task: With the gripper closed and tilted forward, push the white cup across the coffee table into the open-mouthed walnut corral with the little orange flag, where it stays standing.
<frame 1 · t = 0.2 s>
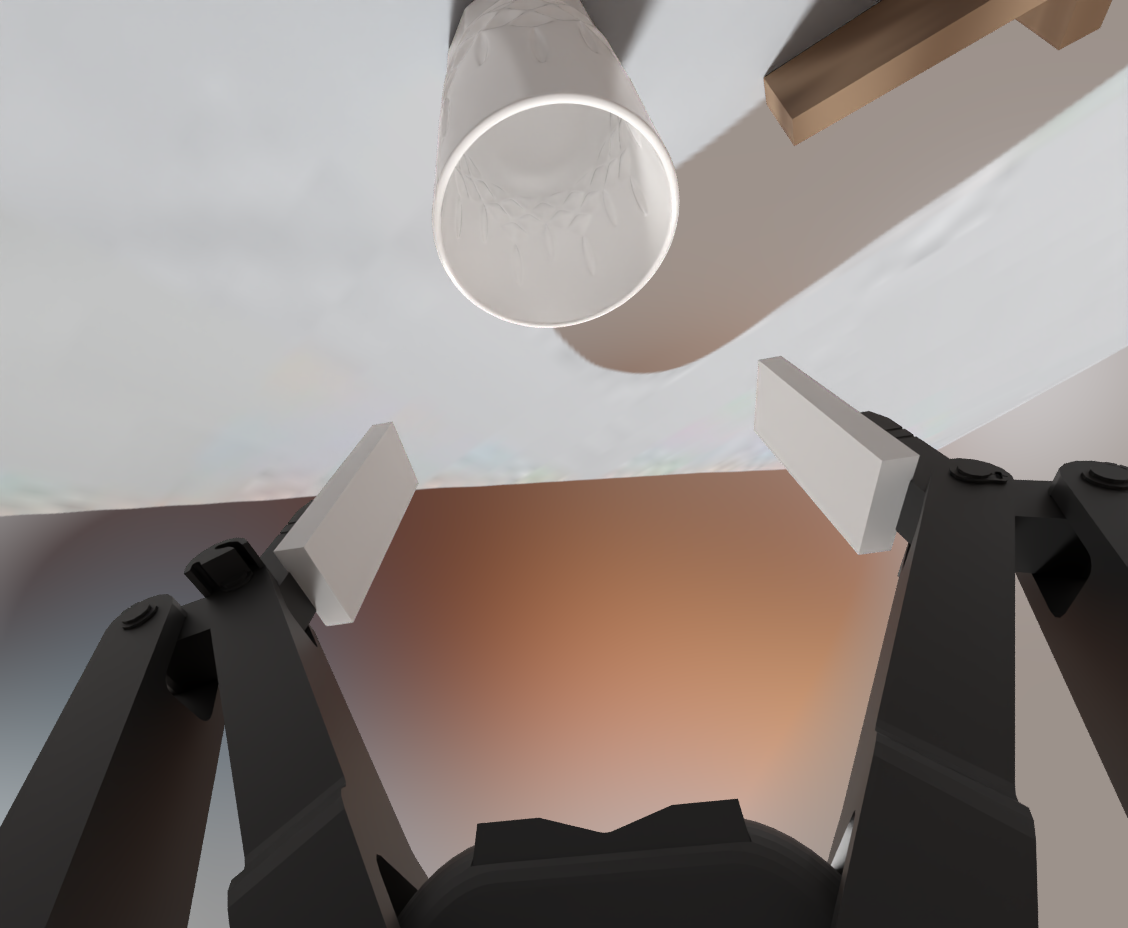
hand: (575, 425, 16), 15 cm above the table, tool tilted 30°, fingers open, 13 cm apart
white cup: (528, 84, 19), on the table
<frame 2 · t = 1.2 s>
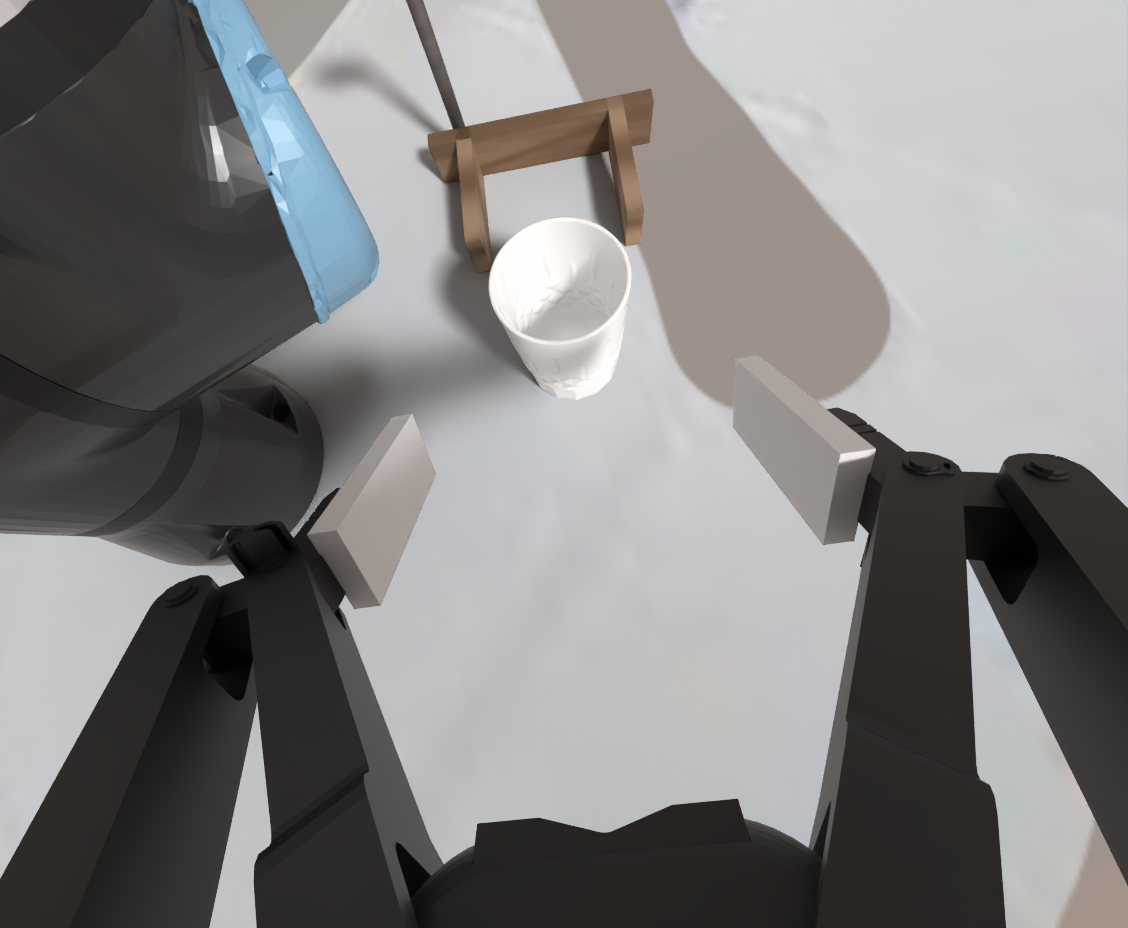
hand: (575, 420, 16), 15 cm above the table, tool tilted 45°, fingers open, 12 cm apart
corral: (552, 216, 36), on the table
white cup: (573, 360, 34), on the table
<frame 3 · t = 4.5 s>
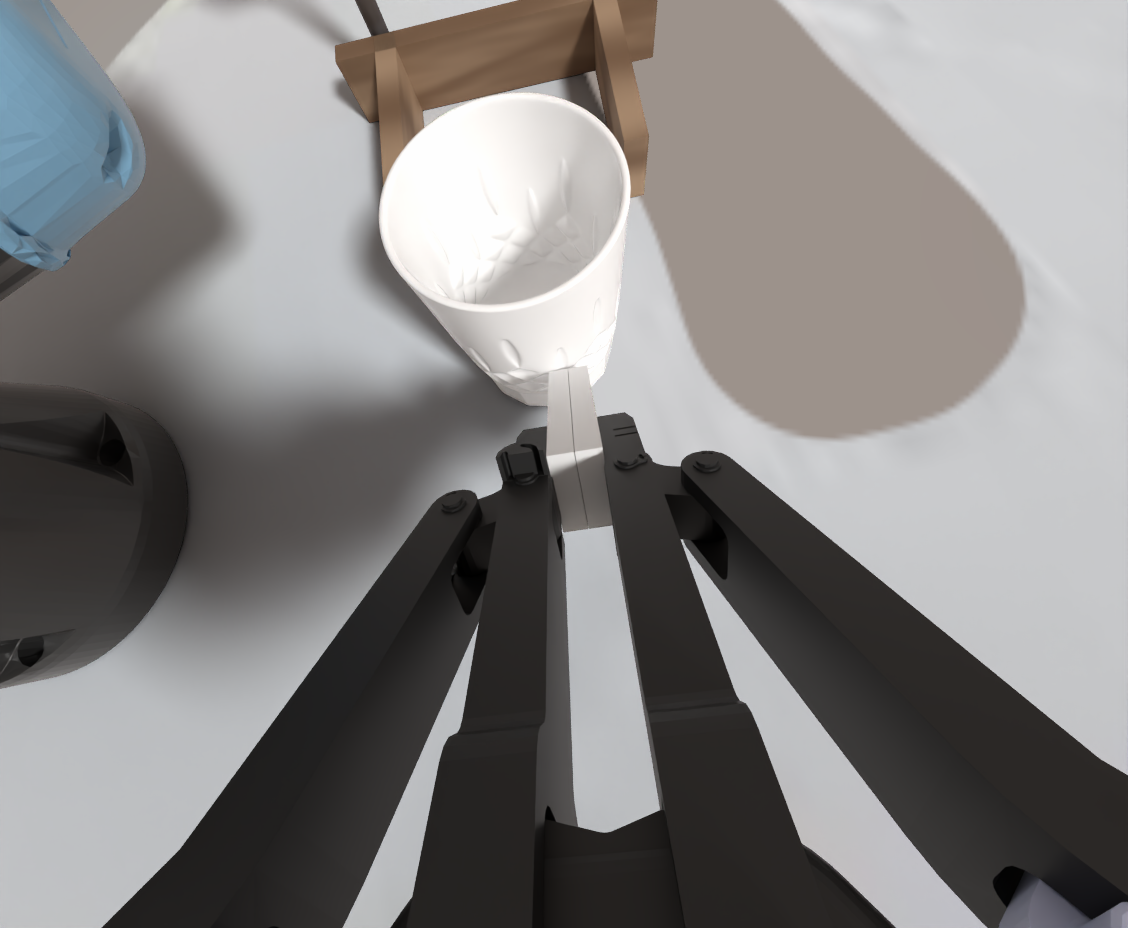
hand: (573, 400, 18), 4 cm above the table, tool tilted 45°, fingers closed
corral: (518, 162, 26), on the table
white cup: (548, 349, 23), on the table, touching gripper
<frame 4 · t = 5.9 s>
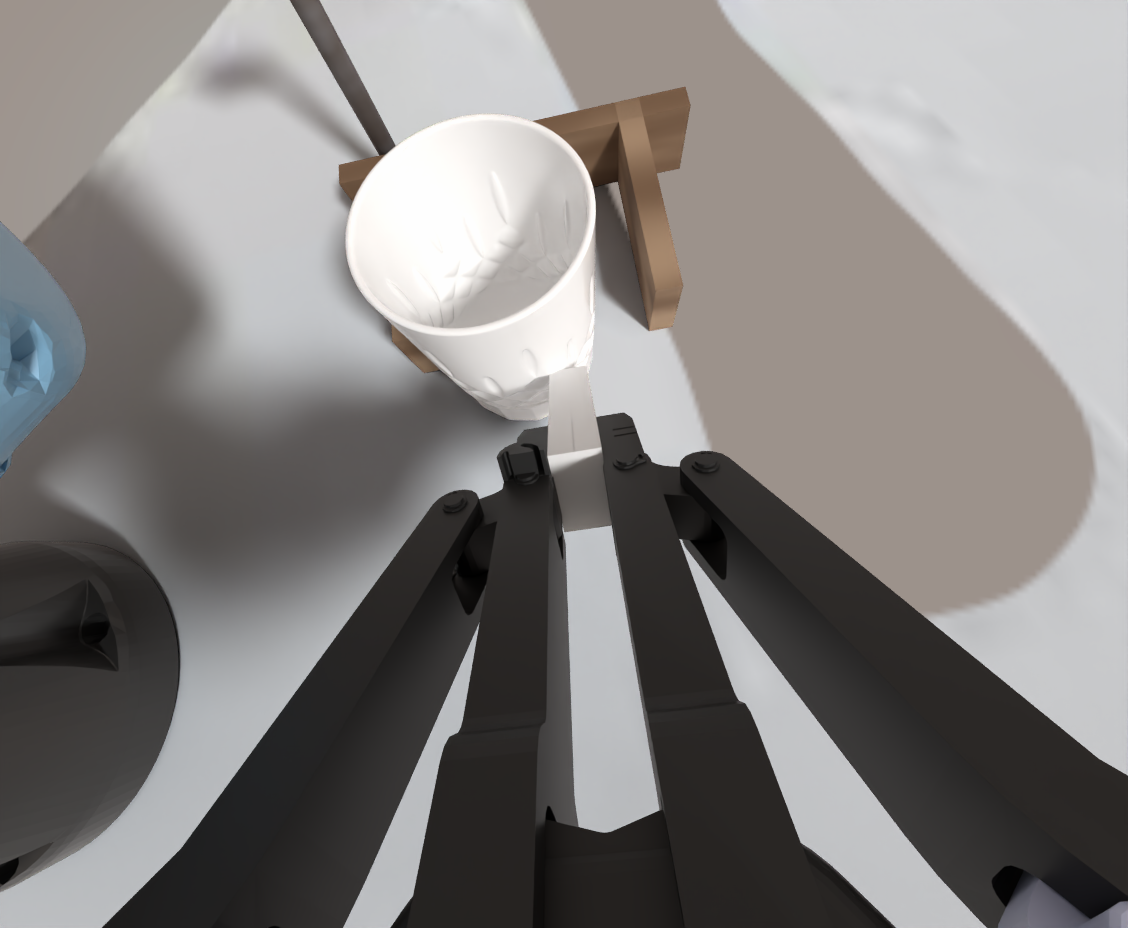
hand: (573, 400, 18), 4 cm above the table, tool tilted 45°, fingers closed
corral: (535, 284, 24), on the table
white cup: (529, 363, 23), on the table, touching gripper
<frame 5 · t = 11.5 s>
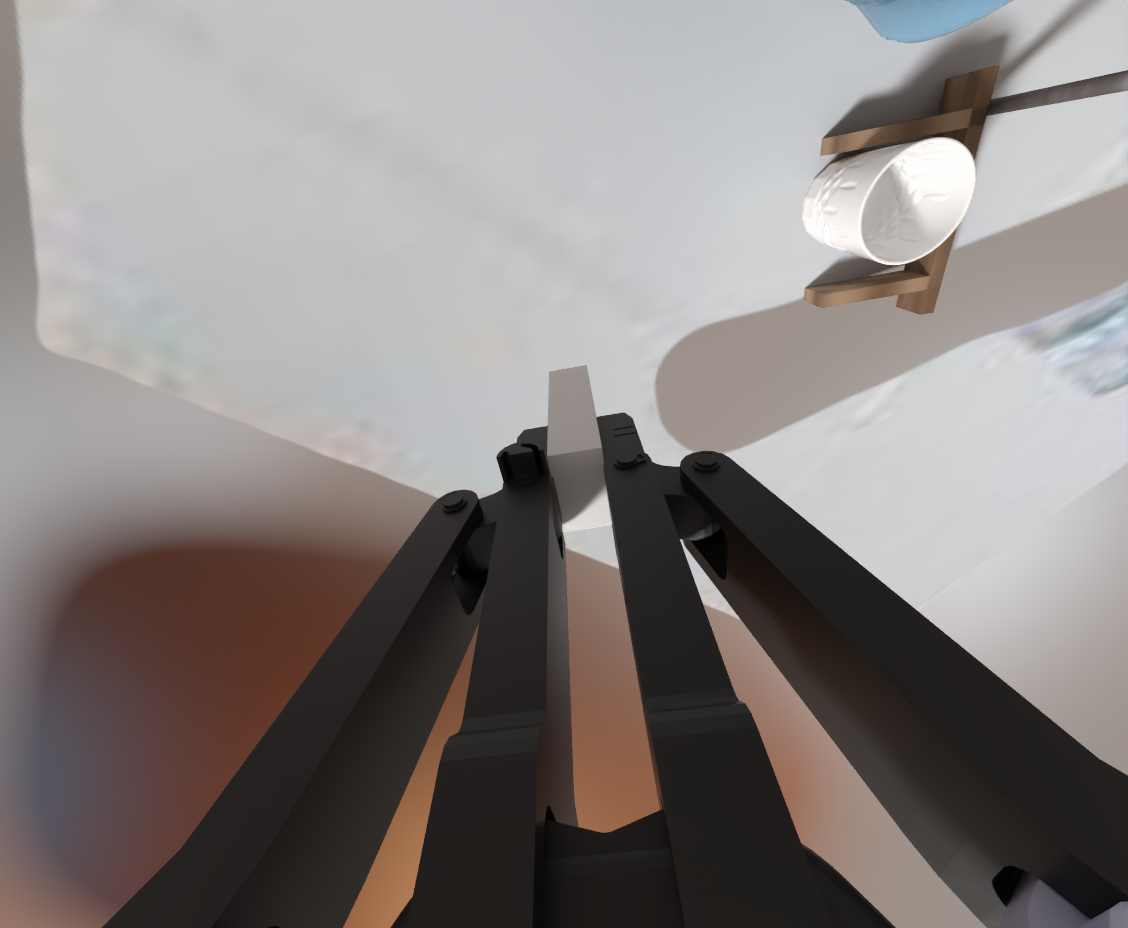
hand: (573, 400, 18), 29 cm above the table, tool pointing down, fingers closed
corral: (856, 218, 40), on the table
white cup: (838, 201, 40), on the table
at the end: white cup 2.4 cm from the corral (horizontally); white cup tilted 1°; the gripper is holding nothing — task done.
